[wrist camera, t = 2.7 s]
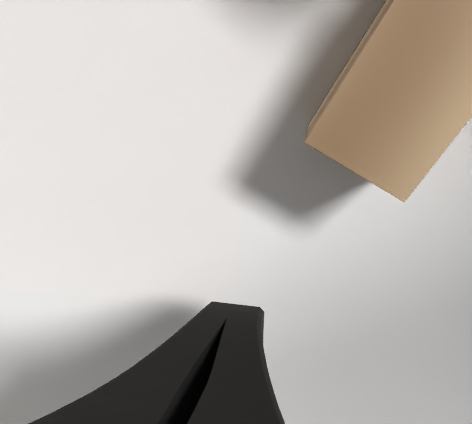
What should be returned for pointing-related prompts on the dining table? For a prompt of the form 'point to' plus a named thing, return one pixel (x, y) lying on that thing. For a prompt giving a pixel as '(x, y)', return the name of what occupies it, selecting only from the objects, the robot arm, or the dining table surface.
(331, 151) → the tan t-shaped block
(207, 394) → the robot arm
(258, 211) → the dining table surface
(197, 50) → the dining table surface
